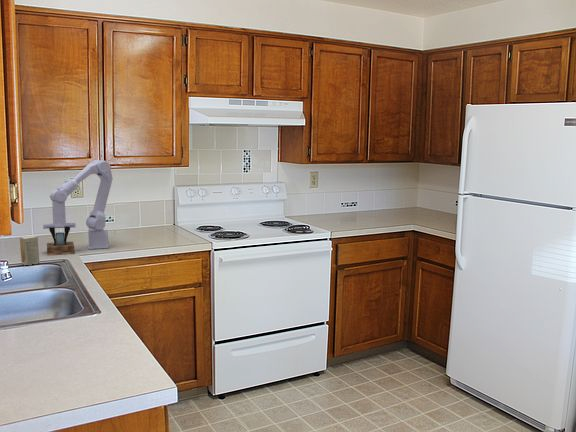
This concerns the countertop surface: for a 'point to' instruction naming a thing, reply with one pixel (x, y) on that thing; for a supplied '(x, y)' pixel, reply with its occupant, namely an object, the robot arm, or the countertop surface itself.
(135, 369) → the countertop surface
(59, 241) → the peg
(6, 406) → the countertop surface
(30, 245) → the skincare box
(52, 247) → the walnut holder
